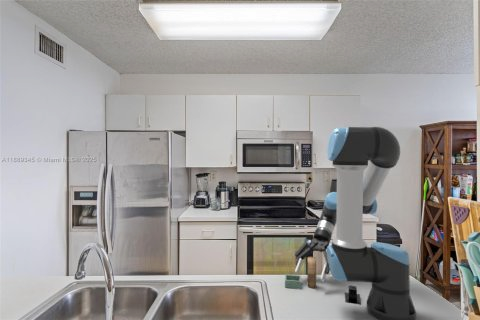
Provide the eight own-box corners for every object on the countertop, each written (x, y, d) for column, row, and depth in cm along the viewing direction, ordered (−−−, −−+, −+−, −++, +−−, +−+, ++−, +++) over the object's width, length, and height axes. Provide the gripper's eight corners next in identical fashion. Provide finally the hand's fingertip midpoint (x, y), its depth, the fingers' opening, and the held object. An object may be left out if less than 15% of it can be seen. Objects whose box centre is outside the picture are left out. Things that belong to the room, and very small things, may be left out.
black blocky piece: (363, 309, 99) (363, 296, 99) (342, 305, 101) (342, 292, 102) (361, 294, 111) (361, 282, 111) (342, 291, 113) (342, 280, 113)
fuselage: (316, 288, 114) (316, 259, 115) (307, 287, 115) (307, 259, 115) (315, 285, 118) (315, 256, 118) (307, 284, 119) (307, 256, 119)
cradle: (301, 288, 114) (301, 281, 114) (285, 287, 115) (285, 280, 115) (300, 282, 121) (300, 275, 121) (285, 281, 122) (285, 274, 122)
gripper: (351, 241, 122) (338, 288, 109) (303, 233, 136) (287, 274, 124) (347, 231, 118) (333, 279, 105) (298, 224, 133) (281, 265, 120)
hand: (308, 276), depth 114 cm, fingers open, 11 cm apart
